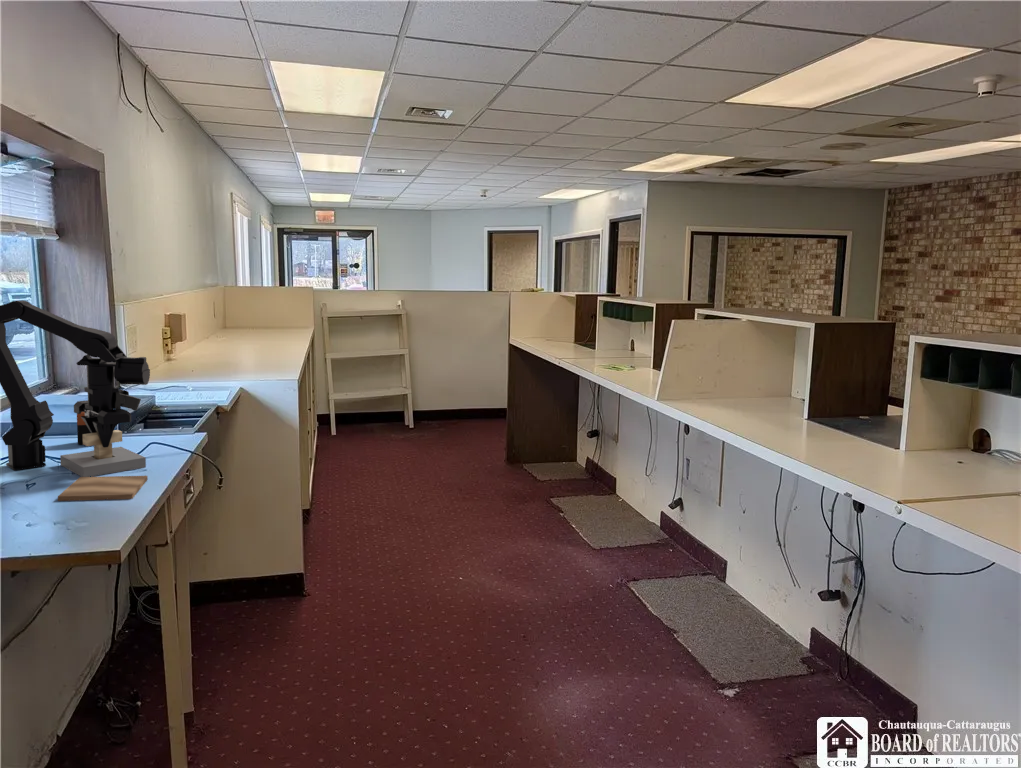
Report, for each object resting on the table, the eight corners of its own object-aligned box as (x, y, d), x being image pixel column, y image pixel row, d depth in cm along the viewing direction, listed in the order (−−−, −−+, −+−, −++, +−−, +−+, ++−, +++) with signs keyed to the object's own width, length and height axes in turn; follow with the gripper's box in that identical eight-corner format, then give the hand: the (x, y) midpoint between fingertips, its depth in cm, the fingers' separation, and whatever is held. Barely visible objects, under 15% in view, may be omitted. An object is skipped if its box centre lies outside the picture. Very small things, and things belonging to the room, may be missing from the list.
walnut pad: (132, 498, 145) (132, 494, 145) (58, 500, 141) (57, 496, 141) (147, 479, 158) (147, 475, 158) (80, 481, 154) (79, 477, 154)
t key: (88, 470, 162) (87, 436, 161) (83, 467, 164) (82, 434, 163) (123, 464, 169) (122, 431, 167) (118, 462, 170) (117, 429, 169)
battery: (79, 441, 187) (78, 406, 186) (107, 440, 190) (107, 406, 189) (77, 445, 184) (76, 409, 182) (106, 444, 186) (105, 409, 185)
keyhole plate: (83, 477, 157) (83, 467, 156) (60, 465, 165) (60, 455, 165) (145, 467, 168) (145, 457, 167) (121, 455, 176) (121, 446, 176)
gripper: (153, 386, 164) (154, 448, 166) (119, 376, 175) (121, 434, 178) (103, 390, 155) (105, 455, 158) (71, 379, 167) (74, 440, 169)
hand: (102, 445), depth 166 cm, fingers closed on t key, 3 cm apart
